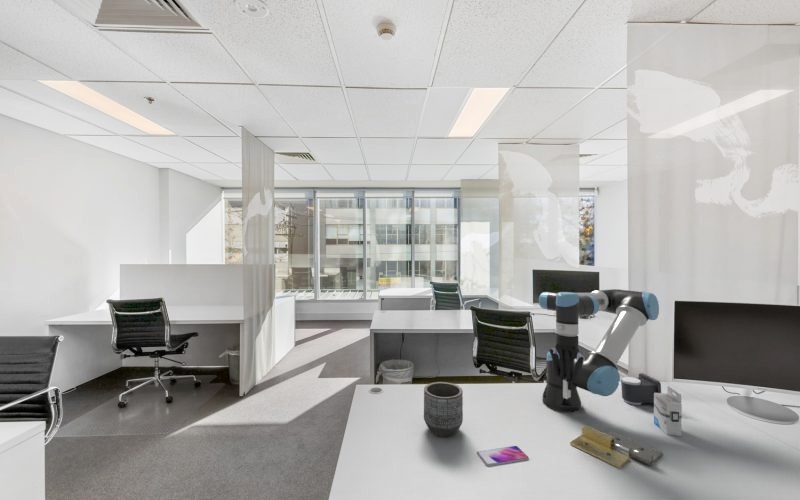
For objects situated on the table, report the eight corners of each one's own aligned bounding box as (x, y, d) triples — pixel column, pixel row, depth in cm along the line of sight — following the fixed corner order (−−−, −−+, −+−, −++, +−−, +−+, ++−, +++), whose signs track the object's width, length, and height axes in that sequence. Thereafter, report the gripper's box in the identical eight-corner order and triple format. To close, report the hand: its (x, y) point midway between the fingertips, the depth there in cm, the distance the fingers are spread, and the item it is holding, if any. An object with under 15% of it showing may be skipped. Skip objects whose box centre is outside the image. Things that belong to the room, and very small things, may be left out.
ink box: (653, 422, 125) (653, 384, 125) (667, 424, 124) (667, 385, 124) (666, 434, 117) (666, 393, 117) (682, 436, 116) (682, 394, 116)
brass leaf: (570, 444, 111) (569, 435, 111) (586, 433, 117) (586, 425, 117) (619, 468, 98) (619, 458, 98) (634, 455, 105) (634, 445, 105)
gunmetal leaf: (596, 443, 111) (596, 434, 111) (611, 433, 118) (611, 424, 118) (649, 467, 99) (649, 457, 99) (662, 454, 105) (662, 444, 105)
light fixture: (615, 398, 148) (614, 374, 148) (644, 396, 148) (642, 372, 148) (633, 409, 137) (631, 383, 137) (664, 407, 137) (662, 381, 137)
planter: (466, 424, 123) (466, 385, 123) (456, 445, 110) (457, 401, 110) (431, 416, 129) (431, 379, 129) (418, 435, 116) (418, 393, 116)
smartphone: (475, 451, 106) (516, 445, 110) (475, 454, 106) (516, 447, 110) (486, 465, 99) (529, 458, 103) (486, 468, 99) (529, 460, 103)
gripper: (545, 331, 125) (544, 393, 124) (579, 339, 114) (579, 406, 114) (555, 329, 129) (555, 388, 129) (590, 336, 118) (590, 401, 118)
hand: (566, 397), depth 121 cm, fingers closed
